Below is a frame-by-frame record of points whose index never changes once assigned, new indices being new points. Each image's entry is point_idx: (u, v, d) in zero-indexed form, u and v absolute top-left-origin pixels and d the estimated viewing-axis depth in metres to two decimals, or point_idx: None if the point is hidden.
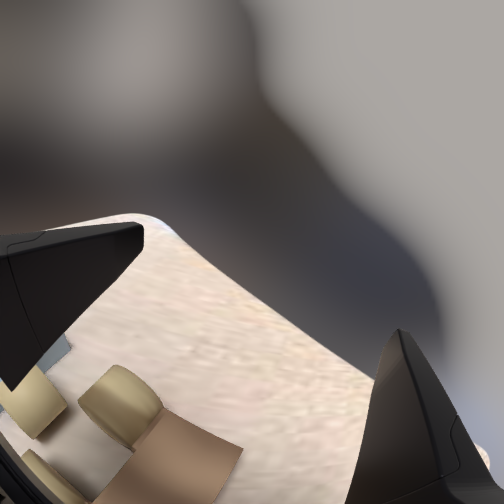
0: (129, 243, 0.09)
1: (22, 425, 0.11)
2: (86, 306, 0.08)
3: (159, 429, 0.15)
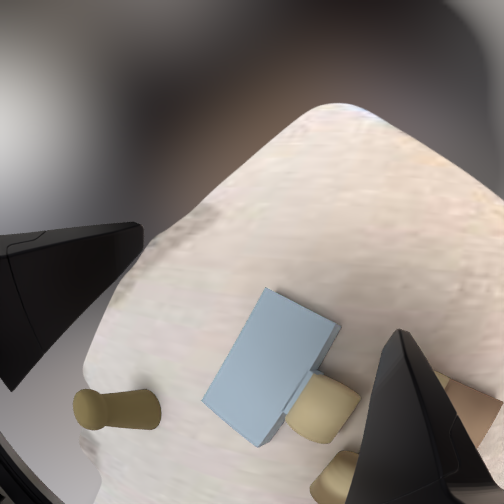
0: (129, 243, 0.09)
1: (326, 441, 0.18)
2: (86, 306, 0.08)
3: None
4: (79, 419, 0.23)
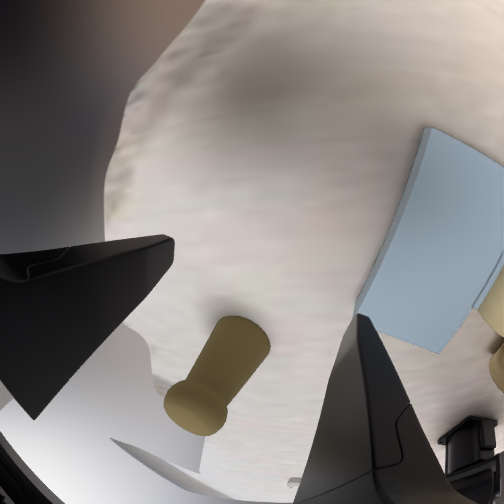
0: (160, 258, 0.08)
1: None
2: (114, 327, 0.08)
3: None
4: (194, 432, 0.18)
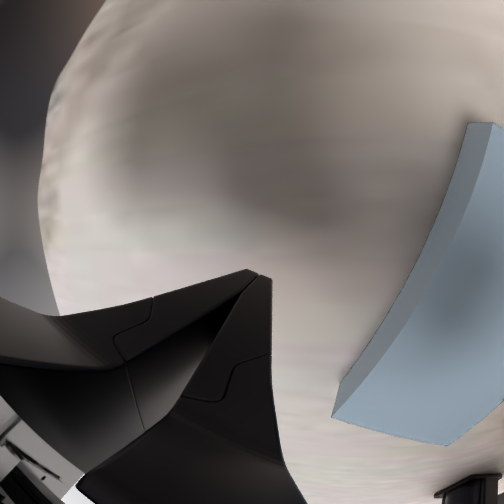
0: None
1: None
2: None
3: None
4: None
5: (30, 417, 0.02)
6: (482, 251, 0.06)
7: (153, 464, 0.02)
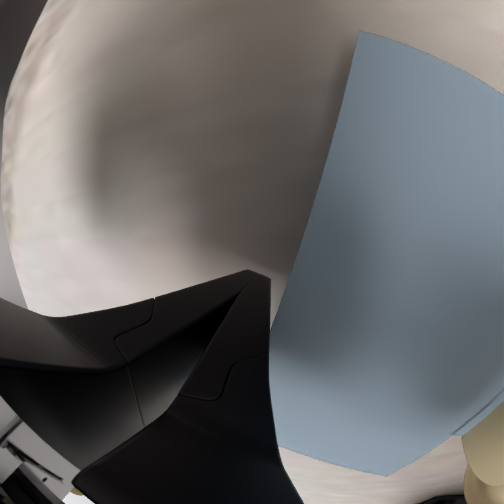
0: None
1: None
2: None
3: None
4: None
5: (31, 419, 0.02)
6: (369, 224, 0.05)
7: (149, 462, 0.02)
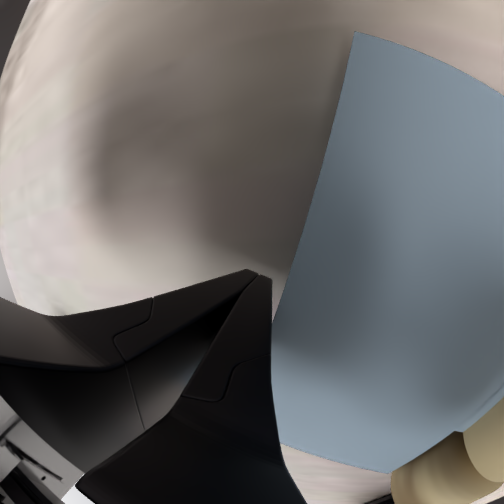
0: None
1: None
2: None
3: None
4: None
5: (30, 417, 0.02)
6: (366, 219, 0.05)
7: (153, 464, 0.02)
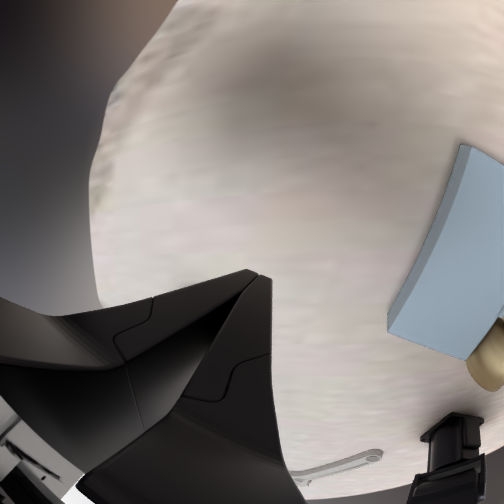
0: None
1: None
2: None
3: None
4: None
5: (30, 417, 0.02)
6: (468, 211, 0.13)
7: (153, 464, 0.02)
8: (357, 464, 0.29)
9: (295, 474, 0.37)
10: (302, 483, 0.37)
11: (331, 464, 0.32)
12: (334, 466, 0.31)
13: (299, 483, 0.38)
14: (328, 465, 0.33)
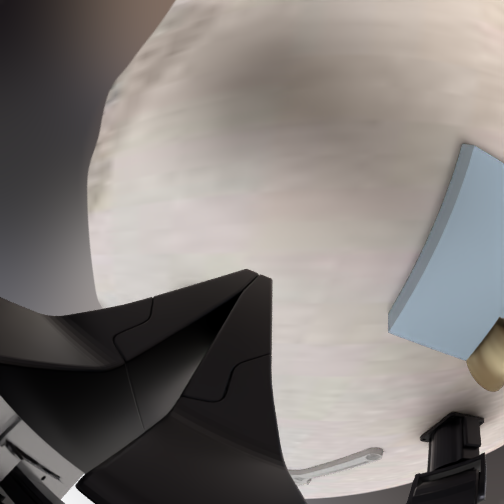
0: None
1: None
2: None
3: None
4: None
5: (29, 417, 0.02)
6: (470, 210, 0.13)
7: (153, 464, 0.02)
8: (357, 462, 0.29)
9: (295, 473, 0.37)
10: (302, 482, 0.37)
11: (331, 463, 0.32)
12: (334, 465, 0.31)
13: (299, 482, 0.38)
14: (328, 464, 0.33)
